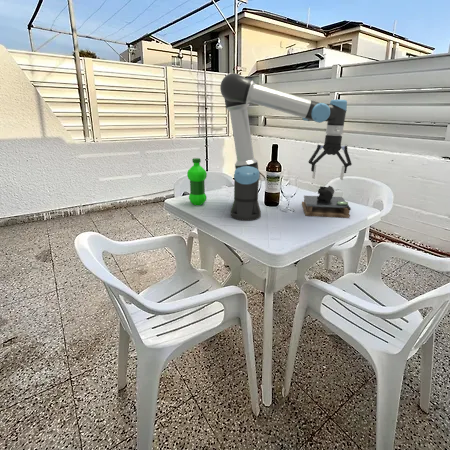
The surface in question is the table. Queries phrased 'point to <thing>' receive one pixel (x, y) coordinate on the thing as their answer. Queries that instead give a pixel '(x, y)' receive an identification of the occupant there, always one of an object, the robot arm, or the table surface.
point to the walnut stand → (326, 211)
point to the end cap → (325, 194)
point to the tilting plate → (333, 202)
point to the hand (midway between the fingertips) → (327, 178)
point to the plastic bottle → (197, 183)
